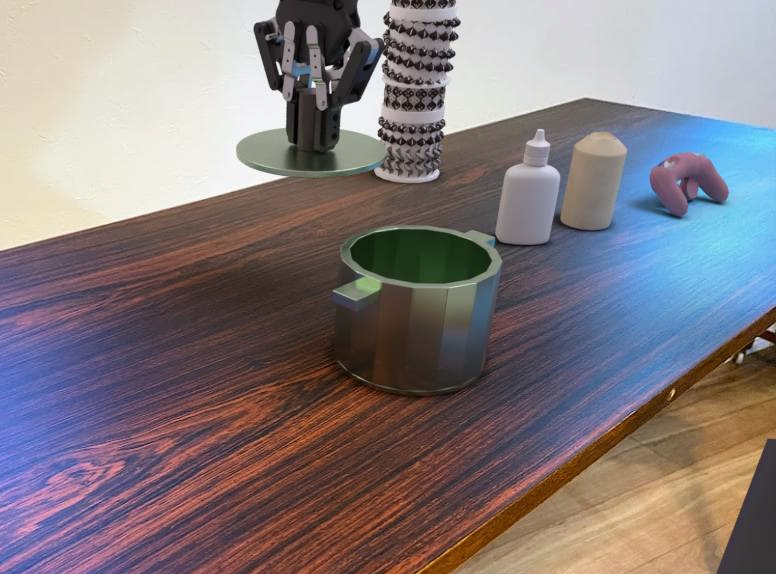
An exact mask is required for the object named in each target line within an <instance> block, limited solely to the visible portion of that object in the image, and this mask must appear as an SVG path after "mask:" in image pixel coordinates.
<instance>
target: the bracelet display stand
mask: <svg viewBox="0 0 776 574" xmlns="http://www.w3.org/2000/svg"><path fill="white" fill-rule="evenodd" d="M456 3H457V0H391V3H389V9H388V11H387V12H386V14H384V15H383V17H382V20H383V24H384V25H385V26H387V27H388V28H386V29H385V32H384V33H383V34H382V39H383V41H384V43H385V48H384V51H383V53H382V55H383V56H384V57H385V58H386V59H385V60H384V61H383V62H382V64H381V69H382V70H381V71H382V73H383V74H382V76H381V81H382V82H383V83H384V84H385V85H384V89H383V102H382V103H381V110H380V115H381V116H379V117H378V121H377V123H378V125H379V126H381V127H380V128H379V129H377V133H376V134H377V137H378V138H380V139H379V141H380V142H382V143H383V144H384V145H385V146H386V148H387V158H386V161H385V162H384V163H383V164H382V165H381V166H379V167H377V168H375V169H373V171H374V174H375V175H376V177H379V178H381V179H382V180H386V181H388V182H389V181H390V182H393V183H400V184H401V183H402V184H421V183H427V182H432V181H434V180H436V179H438V178H439V176H440V170H439V167H440V166H441V165H442V158H441V157H440V156H441V155H442V153H443V150H444V149H443V145H442V144H441V143H440V142H441V141H442V140H443V139H444V138H445V135H444V134H445V132H443V131H442V130H443V128H445V127H446V124H447V122H446V120H445V119H444V117H445V111H446V104H445V98H446V91H447V90H446V87H447V86H448V85H449V84H450V83H451V77H450V76H449V75H448V73H449V72H451V71H453V70H454V67H455V66H454V65H453V64H452V63H451V62H450V60H451V59H453V58H455V57H456V51H455V50H453V48H451V43H452V42H455V41H457V40H458V39H459V38H460V36H459V33H457V32H455V30H453V29H456V28H458V27H459V26H461V24H462V21H461V19H459V18H458V17H457V9H458V5H457V4H456Z"/></svg>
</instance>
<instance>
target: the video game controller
mask: <svg viewBox="0 0 776 574" xmlns="http://www.w3.org/2000/svg"><path fill="white" fill-rule="evenodd" d="M678 182H679V183H678ZM649 184H650V188H651V190H652V191H653V193H655V194H656V196H657V198H658V199H659V201H660V203H661V204H662V205H663V206H664V208H665V209H666V210H667V211H668V212H669V213H670V214H672V215H674V216H676V217H680V218H681V217H683V216H685V215H686V214H687V213H688V210H689V204H688V203H689V202H688V201H691V200H693V199H696V198H697V196H698V194H699V188H700V190H701V191H702V192H703V193H704V194H705V195H706V196H707V197H708V198H710V199H711V200H713V201H715V202H718V203H724V202H726V200H728V199H729V196H730V195H729V194H730V190H729V187H728V184H727V183H726V181H725V179H723V177H722V175H720V173H719V172H718V171H717V169H716V167H715V165H714V163H713V162H712V160H711V159H710V158H709V157H707V155H706V154H705V152H702V153H696V152H692V151H686V152H679V153H675V154H672V155H670V156H668V157H666V158H664V159H662V161H660V162H659V163H658V164H656V165H654V166H653V167H652V168H651V170H650V172H649Z"/></svg>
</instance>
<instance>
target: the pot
mask: <svg viewBox="0 0 776 574" xmlns="http://www.w3.org/2000/svg"><path fill="white" fill-rule="evenodd" d="M495 245H496V237H495V236H493V235H490V234H486V233H484V232H480V231H478V230H474V229H471V230H468V231H466V232H461V231H458V230H455V229H451V228H445V227H437V226H431V225H423V224H421V225H419V224H417V225H415V224H413V225H412V224H409V225H408V224H393V225H387V226H381V227H374V228H373V227H372V228H368V229H366V230H363V231H361V232H358V233H356V234H353V235H350V236H348V238H347V239H346V241H344V243H342V245H341V246H340V247H339V256H338V257H339V260H338V275H337V288H335V289H333V290H332V295H331V302H332V303H333V304H336V306H335V322H334V336H333V337H334V338H333V347H334V349H333V350H334V353H333V356H334V360H335V362H336V365H337V366H338V368H339V369H340V371H342V372H343V373H344V374H345V375H346V376H347V377H349V378H350V379H352V380H353V381H356V382H357V383H359V384H360V385H363V386H366V387H368V388H370V389H374V390H377V391H380V392H384V393H388V394H393V395H398V396H399V395H401V396H406V397H407V396H408V397H432V396H440V395H446V394H451V393H455V392H458V391H460V390H463V389H465V388H468V387H469V386H471V385H472V384H474V383H475V382H476V381H477V380H478V379H479V378H480V377H481V375H482V373H483V371H484V367H485V364H486V361H487V356H488V351H489V345H490V339H491V333H492V326H493V321H494V315H495V309H496V303H497V298H498V292H499V285H500V281H501V280H500V279H501V275H502V274H501V273H502V268H503V260H502V258H501V255H500V254H499V252H498V250H497V249H496V248H495Z"/></svg>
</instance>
